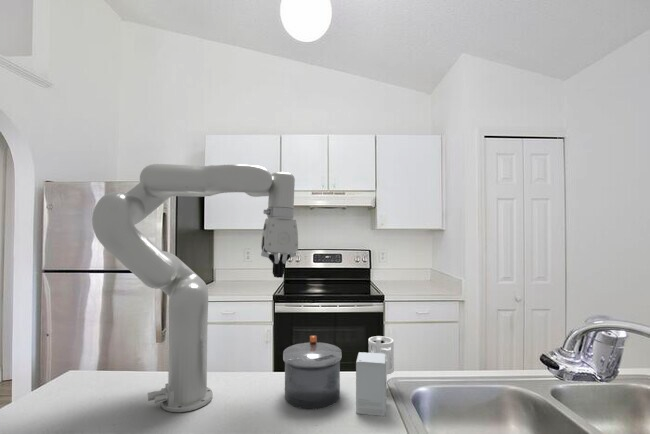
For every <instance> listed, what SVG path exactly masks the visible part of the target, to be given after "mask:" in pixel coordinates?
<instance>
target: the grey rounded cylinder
mask: <svg viewBox="0 0 650 434" xmlns="http://www.w3.org/2000/svg"><path fill="white" fill-rule="evenodd" d="M340 363H341V360H340V361H339V362H338V363H336V364H334V365H331V366H327V367H322V368H299V367H294V366H291V365H289V364H287V363H285V362H284V400H285V401H286V403H288V405H290V406H292V407H294V408H297V409H301V410H313V411H314V410H322V409H326V408H328V407H331V406H333V405H334V404H336V403H337V402H339V400H340V397H341V382H340V381H341V373H340V372H341V371H340V368H341V364H340Z"/></svg>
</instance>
